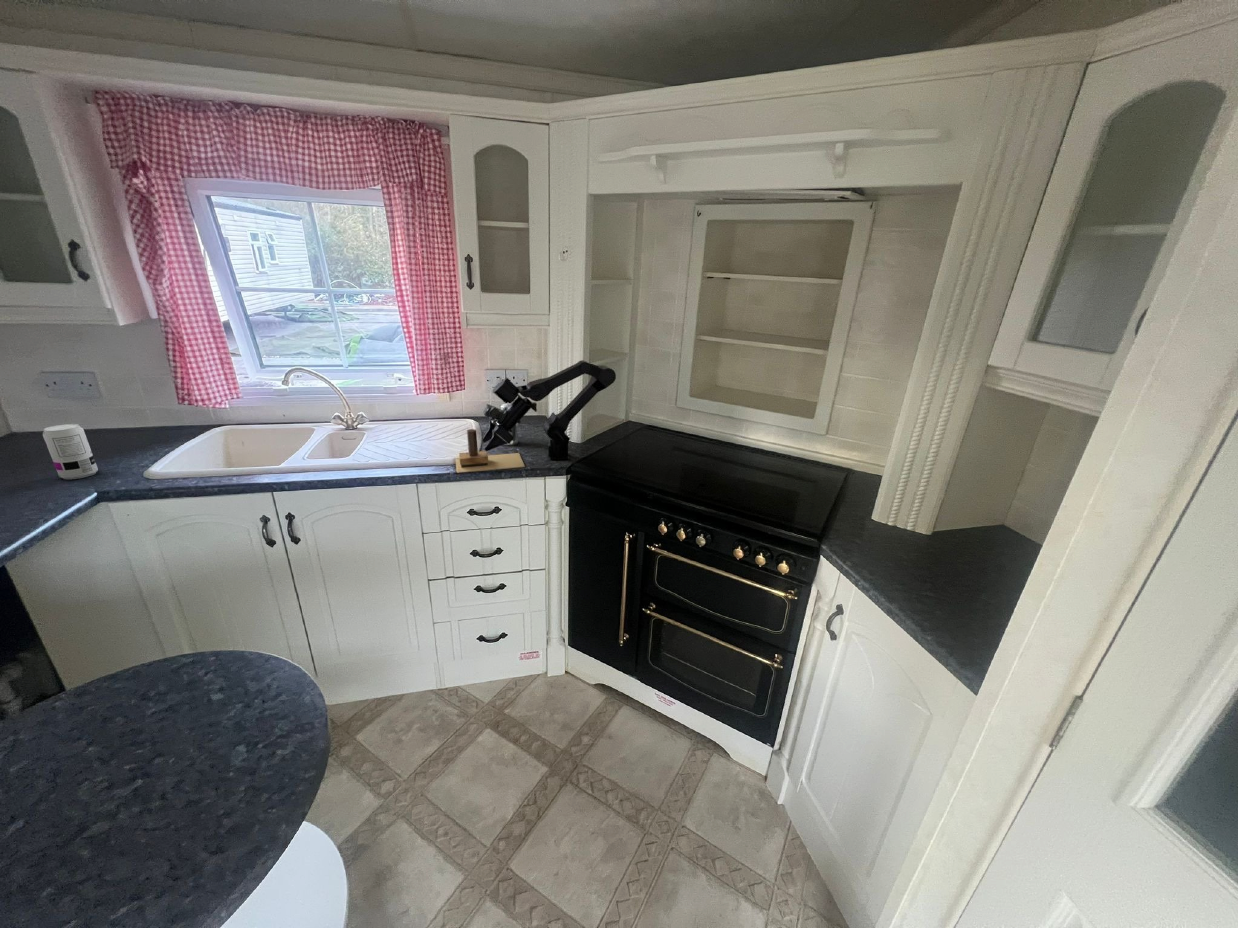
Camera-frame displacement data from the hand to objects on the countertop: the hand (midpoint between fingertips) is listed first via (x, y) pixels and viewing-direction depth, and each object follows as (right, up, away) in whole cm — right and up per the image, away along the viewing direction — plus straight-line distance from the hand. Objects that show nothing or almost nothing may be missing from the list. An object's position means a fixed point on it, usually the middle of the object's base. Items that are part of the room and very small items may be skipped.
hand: (484, 445), depth 166 cm
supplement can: (-117, -10, -18) cm, 119 cm away
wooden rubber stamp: (-4, -6, +1) cm, 7 cm away
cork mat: (+1, -6, +3) cm, 7 cm away
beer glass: (+4, +2, +23) cm, 24 cm away
